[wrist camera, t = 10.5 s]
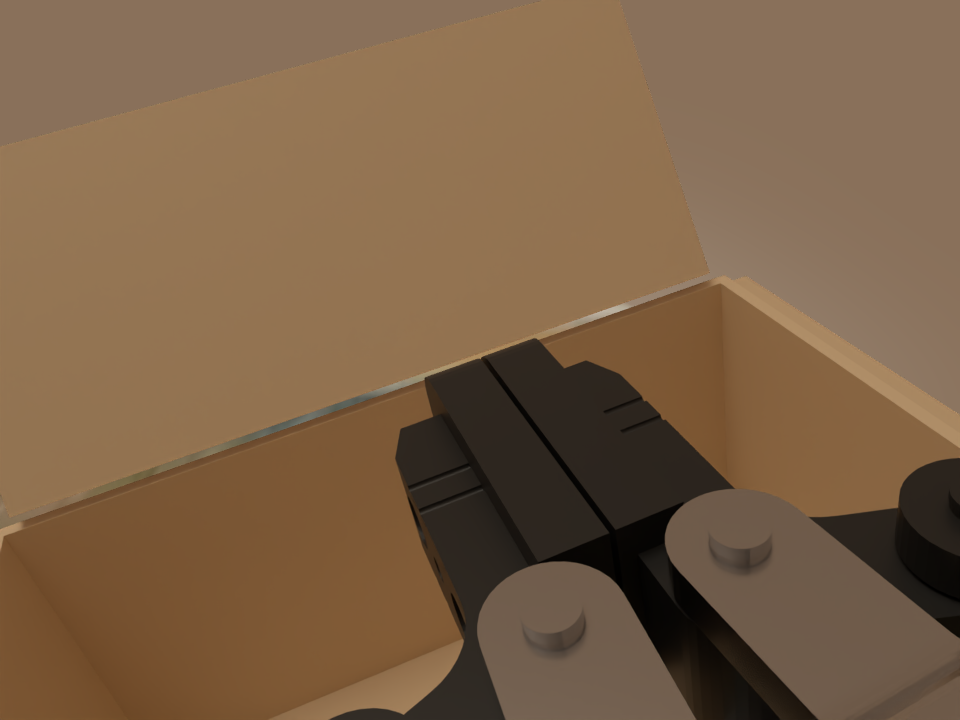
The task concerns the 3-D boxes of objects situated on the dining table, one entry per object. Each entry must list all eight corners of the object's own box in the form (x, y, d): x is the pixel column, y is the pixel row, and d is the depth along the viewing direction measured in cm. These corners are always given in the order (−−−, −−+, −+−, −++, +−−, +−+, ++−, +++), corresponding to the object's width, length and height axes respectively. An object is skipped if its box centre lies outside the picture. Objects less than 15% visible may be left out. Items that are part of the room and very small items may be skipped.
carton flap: (-116, 177, 23) (-105, 182, 24) (9, 517, 24) (16, 514, 24) (613, -19, 27) (606, -11, 28) (709, 272, 28) (701, 275, 28)
